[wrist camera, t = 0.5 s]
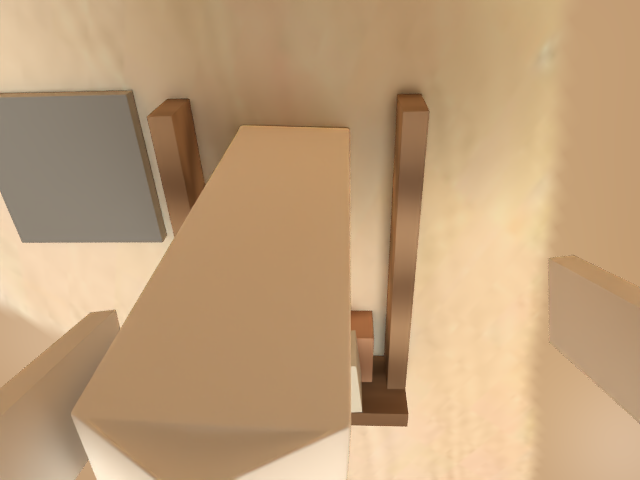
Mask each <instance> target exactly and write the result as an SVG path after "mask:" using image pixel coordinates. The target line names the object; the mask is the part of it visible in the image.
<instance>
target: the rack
mask: <svg viewBox="0 0 640 480" xmlns="http://www.w3.org/2000/svg"><path fill="white" fill-rule="evenodd" d="M147 120H148V124H149V128H150V133H151V137H152V141H153V146H154V150H155V154H156V159H157V163H158V168H159V172H160V176H161V181H162V185H163V189H164V194H165V198H166V202H167V207H168V211H169V215H170V220H171V224H172V228H173V233H174V237H175V236H176V234H177V233H178V231H179V229H180V228H181V226H182V224H183V222H184V221H185V219H186V217H187V216H188V214H189V212H190V211H191V209H192V207H193V206H194V204H195V202H196V201H197V199H198V197H199V196H200V194H201V192H202V190H203V189H204V187H205V185H204V179H203V174H202V168H201V163H200V157H199V151H198V146H197V140H196V135H195V129H194V123H193V118H192V112H191V107H190V101H189V99H167V100H166V101H165V102H163V103H162V104H161V105H160V106H159V107H158V108H156V109H155V110H154V111H153V112H152V113H150V114H149V115H148V116H147ZM428 121H429V110H428V107H427V105H426V103H425V101H424V99H423V97H422V95H421V94H398V96H397V116H396V135H395V155H394V175H393V195H392V215H391V234H390V254H389V274H388V294H387V314H386V333H385V353H384V356H373V369H372V382H361V384H362V412H351V425H365V426H407V423H408V408H407V400H406V392H405V385H406V374H407V362H408V351H409V339H410V328H411V316H412V305H413V293H414V282H415V270H416V259H417V247H418V236H419V224H420V213H421V201H422V190H423V178H424V167H425V155H426V144H427V132H428Z"/></svg>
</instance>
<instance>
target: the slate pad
mask: <svg viewBox="0 0 640 480" xmlns="http://www.w3.org/2000/svg"><path fill="white" fill-rule="evenodd" d="M0 192H1V194H2V197H3V199H4V201H5V204H6V206H7V208H8V211H9V213H10V215H11V217H12V220H13V222H14V224H15V227H16V229H17V231H18V234H19V236H20V238H21V241H22V243H53V242H163V241H164V239H165V237H166V236H167V235H166V231H165V226H164V222H163V218H162V214H161V210H160V206H159V201H158V197H157V193H156V189H155V185H154V181H153V176H152V172H151V168H150V164H149V160H148V155H147V151H146V147H145V143H144V139H143V135H142V130H141V126H140V122H139V118H138V114H137V110H136V105H135V101H134V97H133V93H132V91H91V92H46V93H2V94H0Z"/></svg>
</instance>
